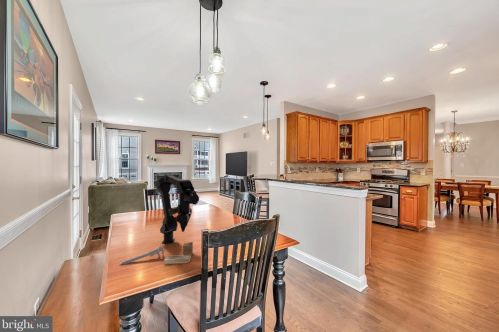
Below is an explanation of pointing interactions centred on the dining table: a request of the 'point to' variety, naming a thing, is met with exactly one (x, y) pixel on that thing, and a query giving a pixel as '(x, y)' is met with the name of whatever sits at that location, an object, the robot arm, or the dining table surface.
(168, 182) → the robot arm
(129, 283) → the dining table surface
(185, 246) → the brown block with knob
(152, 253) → the caliper
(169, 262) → the board
